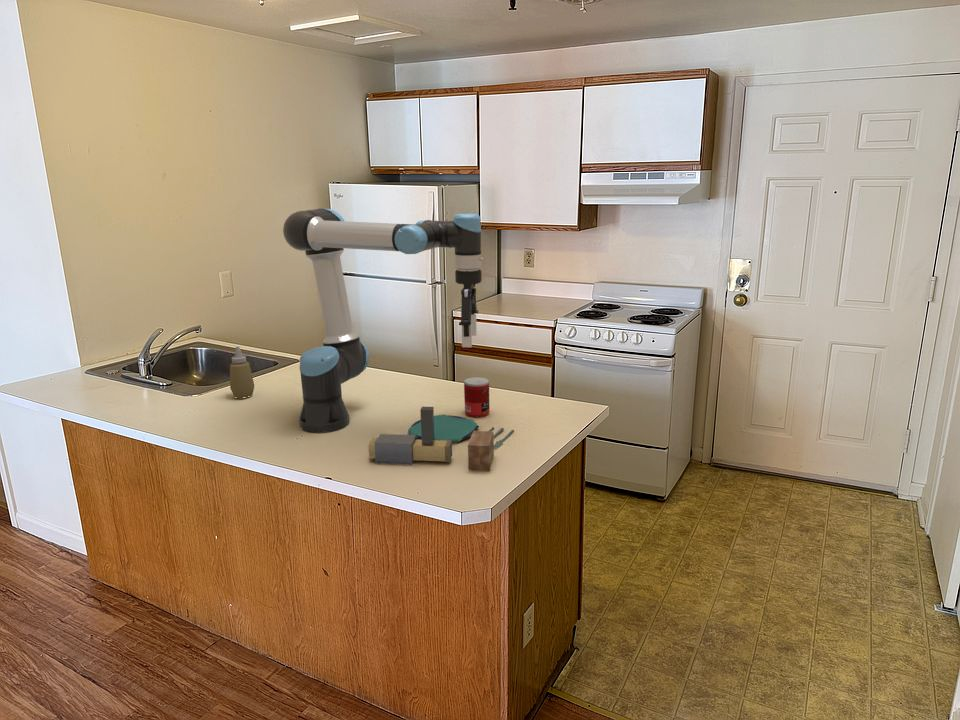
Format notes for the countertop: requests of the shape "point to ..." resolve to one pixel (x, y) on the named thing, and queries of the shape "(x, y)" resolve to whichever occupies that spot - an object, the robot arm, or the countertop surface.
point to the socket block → (481, 450)
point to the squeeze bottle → (241, 376)
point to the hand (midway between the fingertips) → (469, 341)
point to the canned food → (476, 396)
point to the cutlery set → (453, 429)
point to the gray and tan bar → (425, 441)
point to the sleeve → (394, 449)
